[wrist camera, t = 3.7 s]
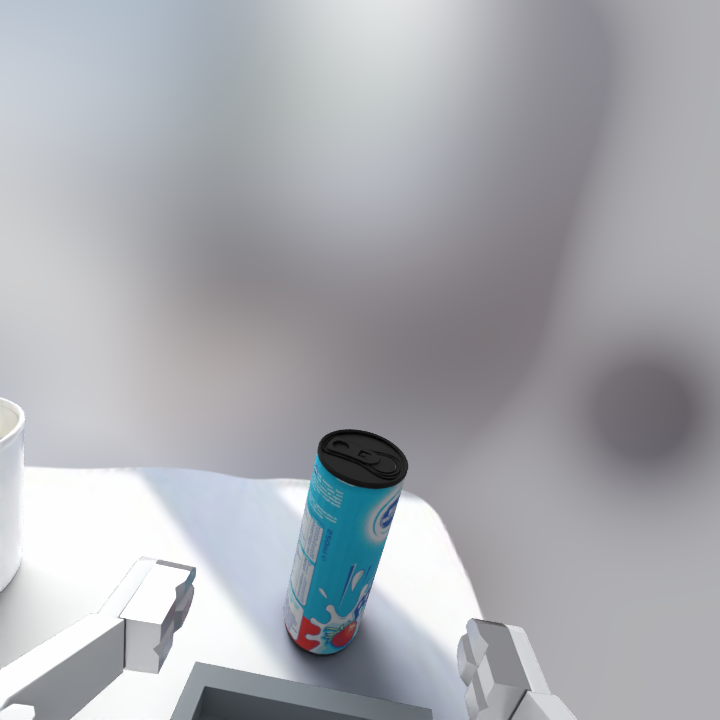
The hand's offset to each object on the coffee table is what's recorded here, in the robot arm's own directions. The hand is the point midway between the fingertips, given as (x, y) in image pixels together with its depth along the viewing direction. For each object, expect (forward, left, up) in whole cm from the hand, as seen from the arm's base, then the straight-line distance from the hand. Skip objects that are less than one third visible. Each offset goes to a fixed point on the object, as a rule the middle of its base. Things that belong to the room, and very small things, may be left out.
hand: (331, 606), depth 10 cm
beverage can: (+12, -1, -17) cm, 21 cm away
